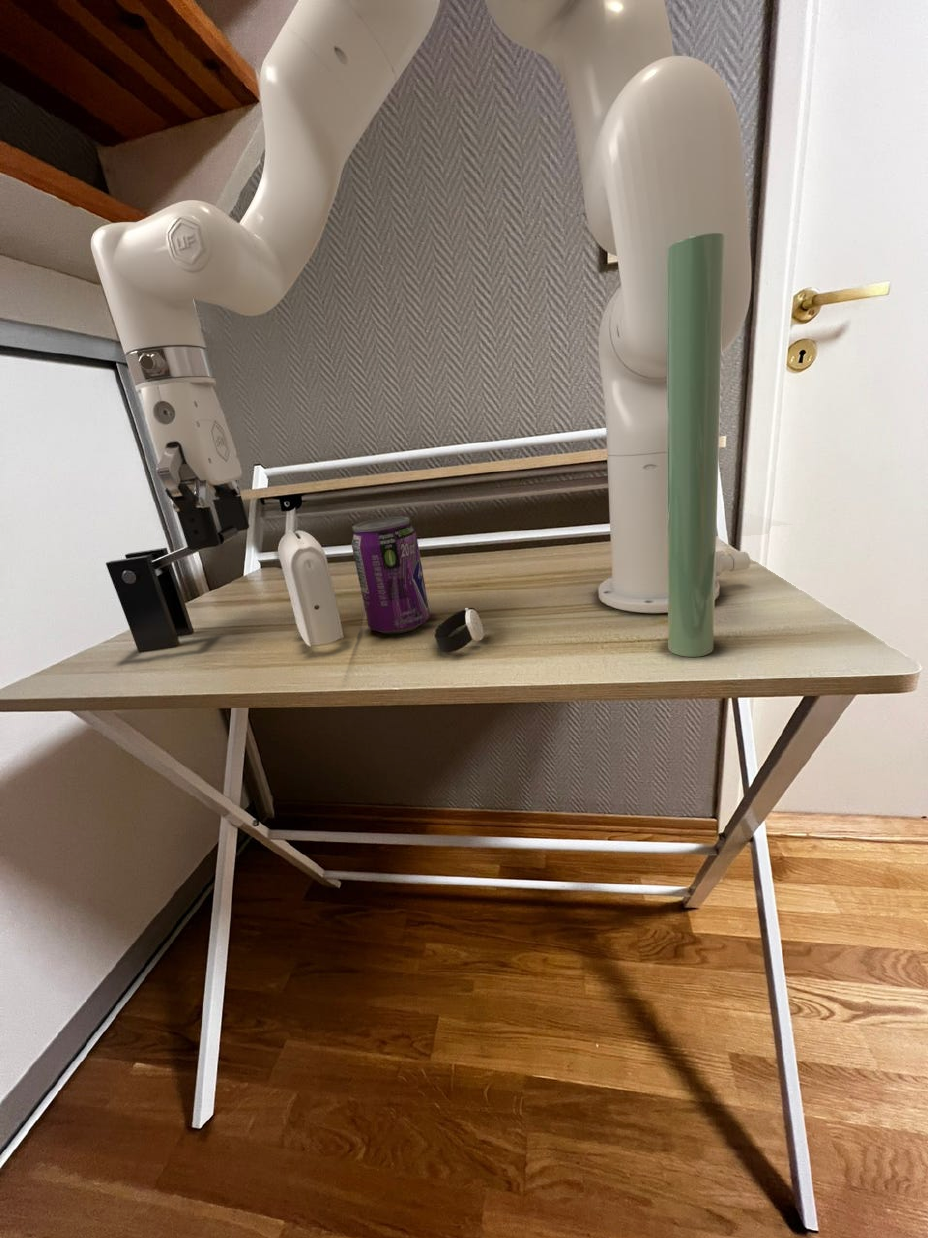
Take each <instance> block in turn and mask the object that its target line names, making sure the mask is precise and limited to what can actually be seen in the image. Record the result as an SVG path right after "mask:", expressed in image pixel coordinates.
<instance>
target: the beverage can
mask: <svg viewBox="0 0 928 1238" xmlns="http://www.w3.org/2000/svg"><path fill="white" fill-rule="evenodd" d="M410 522H411V519H410V517H408V516H402V515H401V516H387V517H381V518H376V519H375V518H374V519H370V520H366V521H362V522H358V523H356V524H354V525H353V526H352V527H351V528H352V531H353V532H354V533H353V537H352V541H351V549H352V554H353V559H354V564H355V568H356V573H357V577H358V578H357V579H358V582H359V587H360V592H361V597H362V603H363V606H364V612H365V617H366V621H367V625H368V628H369V629H370V630H372V631H376V632H380V633H381V634H387V635H398V634H403V633H408V632H410V631H413V630H415V629H417V628H419V627H420V626H421V625H422V624H424V623H425V622H427V620H429V618H430V617H431V616H430V615H431V612H430V607H429V601H428V595H427V588H426V583H425V577H424V572H423V565H422V560H421V553H420V548H419V547H420V546H419V541H418V535H417V532H416V531H415V529H414V528H413V526H412V525H411V524H410Z"/></svg>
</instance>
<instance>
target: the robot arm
mask: <svg viewBox="0 0 928 1238" xmlns="http://www.w3.org/2000/svg"><path fill="white" fill-rule="evenodd" d="M440 3H441V0H297V2H296V4H295V5H294V8H293V9H292V11H291V12H290V14H289V16H288V18H287V19H286V21H285V23H284V25H283V27H282V28H281V30H280V31H279V33H278V35H277V37H276V38H275V41H274V42H273V44H272V45H271V47H270V48H269V51H268V52H267V53H266V56H265V58H264V59H263V62H262V65H261V67H260V72H259V73H260V74H259V90H260V105H261V114H262V122H263V131H264V132H263V133H264V144H265V145H264V160H263V169H262V172H261V176H260V177H261V178H260V181H259V184H258V187H257V190H256V192H255V194H254V197H253V198H252V200H251V203H250V205H249V206H248V208H247V210H246V212H245V213H244V215H243V216H242V218H241V219H240V221H239V222H238V221H236V220H235V219H233V218H232V217H230V216H229V215H228V214H227V213H225V211H223V210H221V209H220V208H218V207H216V206H215V205H213V204H211V203H209V202H206V201H203V200H196V199H188V200H181V201H178V202H176V203H173V204H170V205H169V206H167V207H165V208H163V209H161V210H159V211H157V212H155V213H154V214H153V213H152V214H151V215H148V216H146V217H145V218H143V219H141V220H138V221H121V222H113V223H108V224H106V225H102V226H100V227H99V228H97V229H96V230H95V231H94V232H93V233H92V236H91V238H90V249H91V254H92V257H93V261H94V264H95V267H96V271H97V273H98V276H99V280H100V282H101V285H102V289H103V292H104V295H105V298H106V301H107V304H108V308H109V311H110V314H111V317H112V320H113V323H114V325H115V329H116V332H117V335H118V339H119V342H120V345H121V348H122V350H123V354H124V356H125V361H126V363H127V367H128V370H129V373H130V377H131V380H132V382H133V385H134V387H135V392H136V394H139V395H140V394H141V397H142V403H143V404H142V405H143V409H144V412H145V418H146V421H147V425H148V429H149V434H150V437H151V441H152V444H153V448H154V452H155V454H156V459H157V461H158V464H157V466H156V473H157V476H158V477H159V479H160V480H161V482H162V484H163V486H164V487H165V493H166V495H167V497H168V498H169V499H170V501H171V504H172V509H173V511H174V512H175V513H176V515H177V517H178V521H179V524H180V528H181V530H182V534H183V537H184V539H185V543H186V546H188V548H189V549H190V550H196V549H203V548H206V549H208V548H216V547H219V545H221V544H220V538H219V535H218V529H217V525H216V521H215V518H214V514H213V511H212V508H211V506H206V493H207V487H208V488H209V490H210V492H211V493H212V494H213V496H214V497H215V498H214V499H213V500H212V502H213V506H214V510H215V513H216V515H217V520H218V523H219V526H220V530H222V529H224V528H226V527H228V526H234V527H235V528H236V529H237V531H238V532H240V531H241V532H242V531H247V530H248V529H250V523H249V519H248V515H247V512H246V509H245V504H244V502H243V497H242V492H241V488H240V486H239V484H238V480H239V479H240V478H242V477H241V476H242V474H243V469H242V466H241V463H240V459H239V457H238V453H237V450H236V447H235V444H234V441H233V438H232V434H231V431H230V428H229V425H228V423H227V420H226V415H225V414H224V413H225V412H224V411H223V407H222V405H221V403H220V401H219V398H218V396H217V393H216V392H215V390H214V389H215V388H214V387H216V386H217V382H216V378H215V374H214V371H213V368H212V363H211V360H210V356H209V353H208V349H207V345H206V341H205V339H204V335H203V334H204V333H203V331H202V327H201V324H200V320H199V315H198V312H197V309H196V304H195V301H198V302H202V303H206V304H210V305H216V306H219V307H221V308H224V309H226V310H229V311H231V312H233V313H236V314H238V315H242V316H247V317H256V316H260V315H264V314H266V313H267V312H269V311H271V310H273V309H274V307H276V306H277V305H278V304H279V303H280V302H281V301H282V300H283V299H284V297H285V296H286V295H287V293H288V292H289V290H291V288H292V286H293V285H294V283H295V282H296V280H297V279H298V277H299V276H300V274H301V273H302V271H303V270H304V269H305V267H306V265H307V264H308V262H309V261H310V259H311V257H312V256H313V254H314V252H315V250H316V248H317V246H318V244H319V242H320V240H321V238H322V235H323V232H324V230H325V228H326V224H327V222H328V219H329V216H330V213H331V209H332V207H333V204H334V202H335V199H336V196H337V192H338V189H339V186H340V181H341V178H342V173H343V171H344V167H345V166H346V165H345V164H346V163H347V162H348V159H349V157H350V156H351V154H352V152H353V151H354V149H355V148H356V146H357V145H358V143H359V141H360V140H361V138H362V137H363V135H364V133H366V132H365V131H366V130H367V129H368V127H369V126H370V124H371V122H372V121H373V120H374V117H375V116H376V115H377V113H378V111H379V110H380V108H381V107H382V105H383V103H384V102H385V101H386V99H387V97H388V96H389V94H390V93H391V91H392V90H393V88H394V86H396V84H397V83H398V81H399V79H400V78H401V76H402V74H403V73H404V71H405V70H406V68H407V67H408V65H409V64H410V62H411V60H412V59H413V57H414V56H415V54H416V53H417V51H418V50H419V49H420V47H421V45H422V44H423V42H424V40H425V39H426V37H427V35H428V34H429V32H430V30H431V29H432V26H433V24H434V21H435V19H436V16H437V13H438V10H439V7H440ZM484 3H485V5H486V8H487V11H488V13H489V15H490V17H491V19H492V21H493V22H494V24H495V26H496V27H497V28H498V29H499V31H500V32H501V33H502V34H503V35H505V37H506V38H507V39H509V40H510V41H511V42H513V43H514V44H516V45H518V46H520V47H522V48H525V49H527V50H529V51H532V52H534V53H536V54H539V55H540V56H542V57H544V58H545V59H547V60H548V61H549V62H550V63H551V64H553V66H554V67H555V68H556V69H557V71H558V72H559V74H560V77H561V79H562V82H563V85H564V89H565V91H566V96H567V100H568V101H567V102H568V105H569V109H570V115H571V118H572V125H573V130H574V138H575V144H576V151H577V157H578V164H579V171H580V177H581V185H582V195H583V202H584V204H583V206H584V211H585V216H586V221H587V224H588V227H589V229H590V232H591V234H592V236H593V238H594V240H595V241H596V243H597V244H598V245H599V247H600V248H602V249H603V250H604V251H605V252H607V254H611V255H612V256H614V257H616V260H617V265H618V272H619V279H620V280H619V281H620V286H619V287H618V288H617V289H616V290H615V292H614V293H613V294H612V296H611V298H610V299H609V301H608V303H607V305H606V307H605V309H604V312H603V314H602V318H601V320H600V325H599V330H598V339H597V341H598V342H597V344H598V347H597V348H598V349H597V351H598V362H599V370H600V380H601V385H602V393H603V395H602V396H603V402H604V403H603V405H604V416H605V433H606V459H607V463H606V464H607V484H608V487H607V488H608V510H609V511H608V513H609V534H610V557H611V559H610V560H611V577H609V578H607V579H605V580H604V581H602V582H601V583H600V584H599V585H598V599H599V600H600V601H601V602H602V604H605V605H607V606H608V607H611V608H614V609H617V610H621V611H626V612H631V613H640V614H641V613H642V614H665V613H666V614H668V496H667V248H668V247H669V246H670V245H672V244H674V243H676V242H678V241H681V240H683V239H686V238H690V237H693V236H697V235H702V234H708V233H722V234H724V235H725V247H724V283H723V319H722V354H724V352H725V351H727V349H728V348H729V347H730V346H731V345H732V344H733V342H734V341H735V339H736V338H737V337H738V335H739V333H740V332H741V329H742V327H743V325H744V323H745V320H746V317H747V315H748V311H749V306H750V302H751V294H752V293H751V292H752V255H751V240H750V239H751V237H750V224H749V211H748V199H747V186H746V185H747V184H746V173H745V172H746V171H745V159H744V149H743V148H744V147H743V138H742V137H743V136H742V129H741V124H740V119H739V114H738V111H737V107H736V104H735V102H734V98H733V96H732V94H731V91H730V90H729V88H728V86H727V84H726V83H725V81H724V80H723V78H722V77H721V76H720V75H719V73H718V72H717V71H715V69H713V67H712V66H710V65H709V64H707V63H706V62H704V61H702V60H700V59H698V58H695V57H692V56H688V55H675V52H674V51H675V50H674V44H673V38H672V29H671V25H670V19H669V14H668V10H667V7H666V2H665V0H484ZM194 300H195V301H194ZM193 491H194V492H193ZM203 550H204V549H203ZM750 566H751V557H750V555H749V553H748V552H747V551H740V552H739V551H738V552H733V553H728V554H725V551H724V550H719V551H716V569H715V600H716V599H717V598H718V597H720V582H719V581H718V580H717V579H716V577H720V576H721V574H722V573H723V572H736V571H737V572H738V571H744V570H748V569H749V568H750Z"/></svg>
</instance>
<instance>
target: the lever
mask: <svg viewBox="0 0 928 1238" xmlns="http://www.w3.org/2000/svg"><path fill="white" fill-rule="evenodd" d="M217 532H218V535H219V538H220V545H223V544H225V543H226V542H228V541H230V540H231V539H233V538H235V537H236V536H238V532H239V531H237V529H236V528H235V527H234V526H228V527H226V528H224V529H222V530H221V529H220V530H217ZM205 549H207V548H203V549H196V550H190V549H189V548H188V546H187V545H185V546H184V547H182V548H179V549H177V550H175V551H173V552H170V553H168V554H167V555H165V556H163V557H160V558H158V559H156V560H155V558H154V557H153V555H152V554H151V555H149V556H150V557H151V560H152V563H153V566H154V569H155V572H156V575H157V576H159V575H160V574H162V573H163V571H162V569H161V567H164V566H166V565H168V564H171V563H172V564H173V563H175V562H178V561H180V560H183V559H184V558H187V557H189V556H192V555H194V554H197V553H199V552H202V551H203V550H205Z"/></svg>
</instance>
